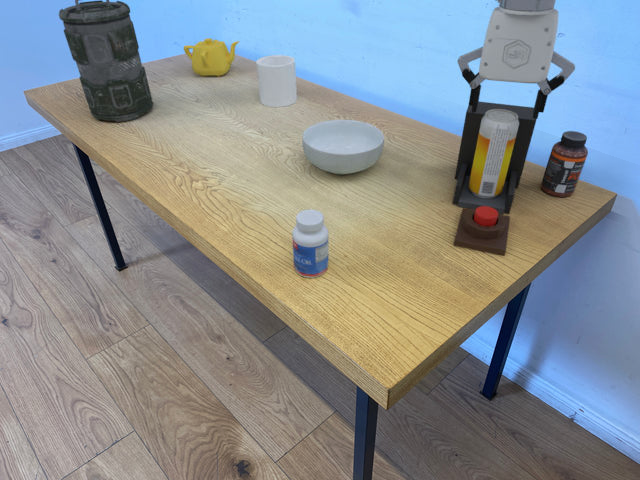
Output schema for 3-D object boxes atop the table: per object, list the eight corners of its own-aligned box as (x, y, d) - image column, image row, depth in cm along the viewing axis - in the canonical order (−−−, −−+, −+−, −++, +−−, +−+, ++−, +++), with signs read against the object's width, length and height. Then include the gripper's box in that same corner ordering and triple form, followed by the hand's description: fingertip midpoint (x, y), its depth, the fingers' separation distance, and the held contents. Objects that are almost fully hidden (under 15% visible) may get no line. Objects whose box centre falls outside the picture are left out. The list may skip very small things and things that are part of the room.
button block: (508, 221, 82) (512, 207, 81) (504, 255, 75) (508, 241, 73) (461, 213, 85) (464, 199, 83) (453, 245, 77) (456, 230, 76)
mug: (263, 89, 137) (260, 51, 131) (298, 89, 137) (297, 51, 130) (257, 107, 126) (253, 67, 120) (295, 107, 126) (293, 66, 120)
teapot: (225, 63, 158) (220, 30, 151) (243, 73, 149) (239, 39, 143) (186, 72, 151) (180, 38, 145) (204, 82, 143) (198, 47, 137)
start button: (496, 216, 79) (499, 208, 78) (495, 228, 77) (497, 220, 75) (474, 213, 80) (476, 204, 79) (472, 224, 78) (474, 215, 77)
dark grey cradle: (519, 174, 95) (536, 107, 87) (515, 216, 84) (535, 144, 75) (458, 165, 99) (470, 100, 90) (446, 204, 87) (458, 134, 79)
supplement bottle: (566, 201, 87) (586, 145, 80) (534, 190, 90) (551, 136, 84) (578, 189, 91) (598, 134, 84) (547, 179, 94) (564, 125, 87)
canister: (104, 129, 117) (64, 5, 100) (83, 110, 127) (45, -5, 110) (163, 112, 125) (136, -5, 108) (140, 96, 135) (112, -14, 118)
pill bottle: (286, 268, 74) (282, 217, 68) (310, 252, 77) (308, 201, 71) (312, 284, 71) (310, 232, 65) (335, 266, 74) (335, 215, 68)
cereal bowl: (393, 180, 95) (396, 148, 90) (312, 191, 92) (311, 158, 88) (368, 143, 108) (369, 114, 103) (297, 152, 105) (295, 122, 101)
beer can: (498, 183, 90) (516, 108, 81) (504, 200, 86) (524, 122, 77) (465, 182, 91) (480, 107, 82) (470, 199, 86) (486, 122, 77)
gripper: (463, 2, 68) (448, 115, 79) (595, 6, 63) (561, 127, 73) (469, -7, 74) (454, 100, 84) (591, -4, 69) (560, 110, 79)
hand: (504, 112), depth 79 cm, fingers open, 9 cm apart
